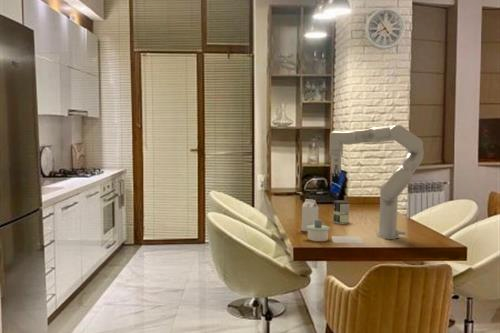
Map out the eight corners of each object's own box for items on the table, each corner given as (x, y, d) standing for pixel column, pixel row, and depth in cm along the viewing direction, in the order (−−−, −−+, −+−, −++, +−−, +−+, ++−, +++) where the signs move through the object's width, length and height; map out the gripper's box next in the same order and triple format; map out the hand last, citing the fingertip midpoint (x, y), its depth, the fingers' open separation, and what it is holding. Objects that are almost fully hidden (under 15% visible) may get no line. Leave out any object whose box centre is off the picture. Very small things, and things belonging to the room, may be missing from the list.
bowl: (327, 237, 277) (327, 227, 276) (328, 242, 266) (328, 231, 265) (307, 237, 278) (307, 226, 277) (307, 241, 267) (308, 230, 267)
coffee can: (331, 223, 321) (332, 201, 320) (334, 220, 330) (335, 199, 329) (347, 224, 317) (348, 202, 316) (349, 221, 327) (350, 200, 326)
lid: (329, 226, 277) (329, 218, 277) (330, 231, 264) (330, 222, 264) (306, 226, 279) (306, 217, 278) (306, 230, 266) (306, 221, 265)
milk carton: (307, 229, 300) (308, 198, 299) (317, 230, 296) (318, 199, 294) (301, 230, 295) (302, 199, 293) (311, 232, 290) (312, 200, 289)
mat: (360, 237, 277) (360, 237, 277) (363, 244, 261) (363, 243, 261) (331, 236, 279) (331, 236, 279) (333, 243, 263) (333, 242, 263)
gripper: (343, 153, 275) (343, 184, 276) (341, 152, 292) (340, 180, 294) (330, 153, 276) (329, 183, 277) (328, 152, 293) (327, 180, 294)
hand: (335, 182), depth 285 cm, fingers open, 9 cm apart
